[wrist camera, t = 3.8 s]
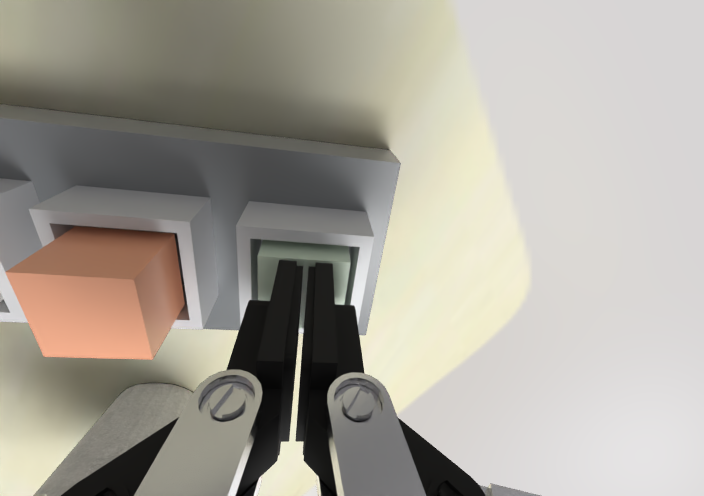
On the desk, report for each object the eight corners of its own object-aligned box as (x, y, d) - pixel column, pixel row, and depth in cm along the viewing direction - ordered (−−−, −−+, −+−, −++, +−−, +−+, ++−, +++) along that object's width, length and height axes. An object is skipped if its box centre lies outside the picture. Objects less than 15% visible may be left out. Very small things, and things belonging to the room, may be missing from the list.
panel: (-116, 90, 11) (-328, 102, 7) (390, 149, 13) (415, 181, 9) (-15, 287, 14) (-121, 358, 11) (361, 307, 17) (371, 370, 13)
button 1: (75, 226, 10) (4, 272, 8) (174, 233, 10) (133, 279, 8) (98, 299, 11) (44, 356, 9) (184, 303, 11) (152, 359, 9)
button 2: (269, 220, 12) (257, 256, 10) (345, 227, 12) (350, 262, 10) (268, 283, 13) (258, 326, 11) (337, 287, 13) (340, 330, 11)
